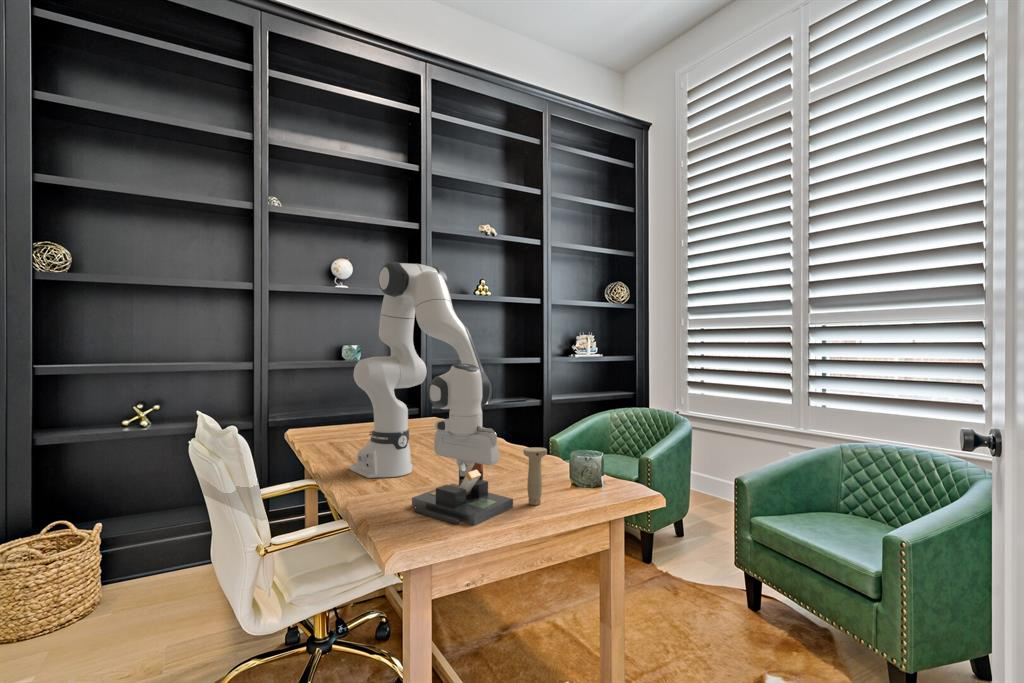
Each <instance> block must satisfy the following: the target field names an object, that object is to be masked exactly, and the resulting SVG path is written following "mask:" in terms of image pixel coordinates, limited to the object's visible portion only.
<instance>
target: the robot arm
mask: <svg viewBox="0 0 1024 683" xmlns="http://www.w3.org/2000/svg"><path fill="white" fill-rule="evenodd" d="M448 284H449V281H448V277H447V274H446V272H445V271H444V270H443V269H441V268H439V267H436V266H429V265H426V264H420V263H406V262H404V263H403V262H397V261H394V262H387V263H385V264H384V265H383V266H382V267H381V268H380V270H379V273H378V285H379V289H380V290H381V291H382V293H383V294H384V295H383V299H382V303H381V311H380V318H379V324H378V325H379V328H378V336H379V339H380V341H381V342H382V343H383V344H385V345H387V347H389V349H390V355H389V356H387V355H386V356H371V357H367V358H363V359H360V360H359V361H357V363H356V364H355V365H354V369H353V379H354V382H355V384H356V385H357V387H359V388H360V389H362V391H364V392H365V393H366V395H367V396H368V398H369V399H370V402H371V406H372V409H373V430H371V431H368V433H370V434H368V436H370V440H369V442H367V443H366V444H365V445H364V446H363V447H362V448H361V449H359V450H358V452H357V454H356V463H354V464H351V465H349V467H348V468H349V469H348V470H350V471H352V472H354V473H356V474H358V475H360V476H363V477H365V478H367V479H373V478H395V477H401V476H406V475H408V474H411V473H412V472H413V467H414V465H413V463H412V459H411V458H412V457H411V448H410V444H409V440H410V429H409V409H408V407H407V405H406V403H404V402H403V401H401V400H400V399H398V398H397V397H396V395H395V394H396V393H395V389H409V388H412V387H415V386H418V385H421V384H423V382H424V381H425V379H426V378H427V366H426V364H425V361H424V360H423V359H422V358H421V357H419V354H418V353H417V350H416V349H415V345H414V327H415V318H416V322H417V324H418V327H419V328H420V330H421V331H422V332H423V333H424V334H426V335H428V336H430V337H431V338H434V339H436V340H439V341H442V342H444V343H446V344H448V345H450V346H451V347H452V348H454V350H455V351H456V353H457V355H458V357H459V360H460V363H455V364H453V365H452V366H451V367H450V369H449V370H448V371H447V372H445V373H443V374H441V375H437V376H435V377H434V378H433V379H432V380H431V382H430V383H429V387H428V398H429V401H430V403H431V405H432V406H434V407H435V408H436V409H441V410H449V412H448V413H449V414H448V415H449V417H447V418H444V419H442V420H439V421H436V422H435V423H434V428H435V430H436V431H435V433H434V438H433V444H434V445H433V446H434V448H433V449H434V453H435V454H436V456H439V457H443V458H448V459H449V458H450V459H453V460H456V464H457V467H458V470H459V469H460V476H462V477H465V475H466V474H467V473H468V472H471V470H472V468H473V466H474V464H475V463H479V464H483V466H484V465H485V466H492V465H496V464H497V463H498V462H499V460H500V454H499V452H500V451H499V445H498V436H497V435H498V434H497V433H496V432H495V430H494V429H493V428H490V427H487V428H486V427H485V426H483V409H482V408H483V407H485V405H486V404H488V402H489V400H490V399H491V398H492V393H493V389H492V388H493V387H492V384H491V382H490V379H489V377H488V375H487V374H486V371H485V370H484V368H483V365H482V363H481V359H480V356H479V355H478V351H477V349H476V348H477V347H476V345H475V344H474V340H473V337H472V335H471V333H470V331H469V329H468V327H467V325H466V324H465V323H463V321H461V320H460V319H459V317H458V315H457V314H456V312H455V310H454V307H453V302H452V298H451V294H450V291H449V287H448ZM464 462H465V463H464ZM465 464H466V465H467V467H466V466H465Z"/></svg>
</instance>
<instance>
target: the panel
mask: <svg viewBox="0 0 1024 683" xmlns="http://www.w3.org/2000/svg"><path fill="white" fill-rule="evenodd" d="M463 480H464V479H462V480H459V479H458V484H456V483H451V484H445V485H441V486H438V487H435V489H433V490H429V491H428V492H425V493H422V494H419V495H416V496H413V497H411V507H412V506H413V507H412V508H415V507H418V508H421V509H425V510H428V511H431V512H435V513H438V514H441V515H445V516H448V517H451V518H455V519H458V520H459V522H462V523H464V524H467V523H468V525H471V526H476V525H479V524H480V523H483V522H485V521H487V520H489V519H491V518H493V517H495V516H498V515H501V514H502V513H505V512H507V511H508V510H511V509H513V508H514V498H513V497H507V496H503V495H500V494H496V493H492V492H489V481H488V480H484V479H483V480H480V479H478V480H477V481H476V483H475V485H474V486H473V488H472V489H471V494H469V495H467V496H466V489H462V488H458V487H459V486H460V484H461V483H462V481H463ZM506 510H507V511H506ZM504 511H505V512H504Z"/></svg>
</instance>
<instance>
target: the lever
mask: <svg viewBox="0 0 1024 683" xmlns="http://www.w3.org/2000/svg"><path fill="white" fill-rule="evenodd" d="M480 476H481V474H480V473H479V472H478V470H474V471H471V472H468V473H467V474H466V475H465V478H464V480H463V481H462V483H461V484H460V486H459V487H458V488H462V489H466V496H467V495H469V494H471V489H472V488H473V486H474V485H475V483H476V481H477V480H478V478H480Z"/></svg>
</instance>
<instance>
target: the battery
mask: <svg viewBox="0 0 1024 683" xmlns="http://www.w3.org/2000/svg"><path fill="white" fill-rule="evenodd" d="M464 463H465V462H464ZM465 466H466V467H467V465H466V464H465ZM474 470H478V472H479V473H480V474H481V476H480V478H478V479H480V480H484V464H479V463H475V464H474V466H473V468H472V470H471V471H474ZM464 478H465V477H462V476H460V469H459V468H458V481H459V480H462V479H464Z"/></svg>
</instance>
